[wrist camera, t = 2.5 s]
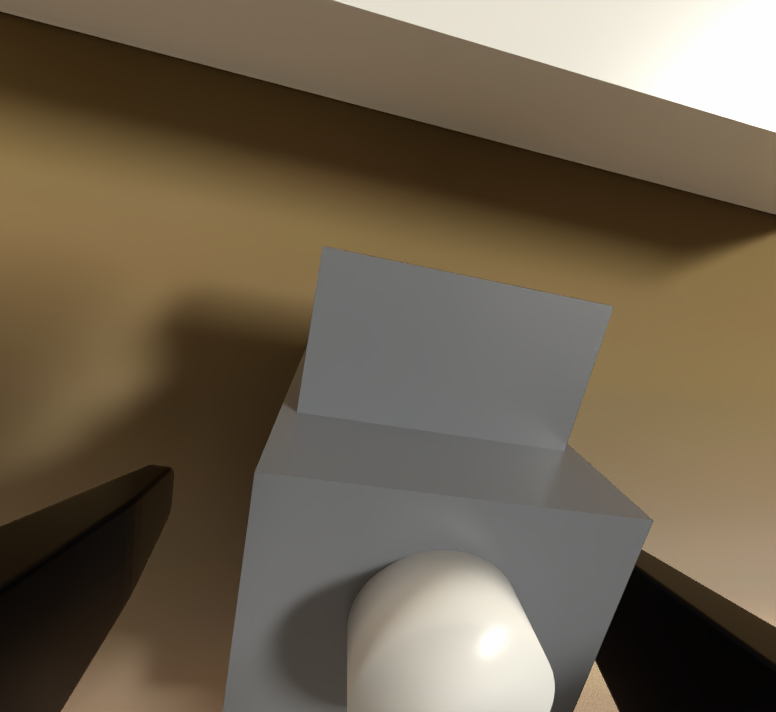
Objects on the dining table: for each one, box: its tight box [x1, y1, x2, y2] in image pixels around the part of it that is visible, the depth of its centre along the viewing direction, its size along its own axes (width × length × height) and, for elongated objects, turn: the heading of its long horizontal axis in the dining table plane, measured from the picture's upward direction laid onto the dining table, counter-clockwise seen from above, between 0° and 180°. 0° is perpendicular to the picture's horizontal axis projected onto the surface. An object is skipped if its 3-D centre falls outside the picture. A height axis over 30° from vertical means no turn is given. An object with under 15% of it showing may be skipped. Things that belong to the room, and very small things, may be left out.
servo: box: [222, 246, 653, 712], centre depth 7 cm, size 10×4×6 cm, turn 169°
